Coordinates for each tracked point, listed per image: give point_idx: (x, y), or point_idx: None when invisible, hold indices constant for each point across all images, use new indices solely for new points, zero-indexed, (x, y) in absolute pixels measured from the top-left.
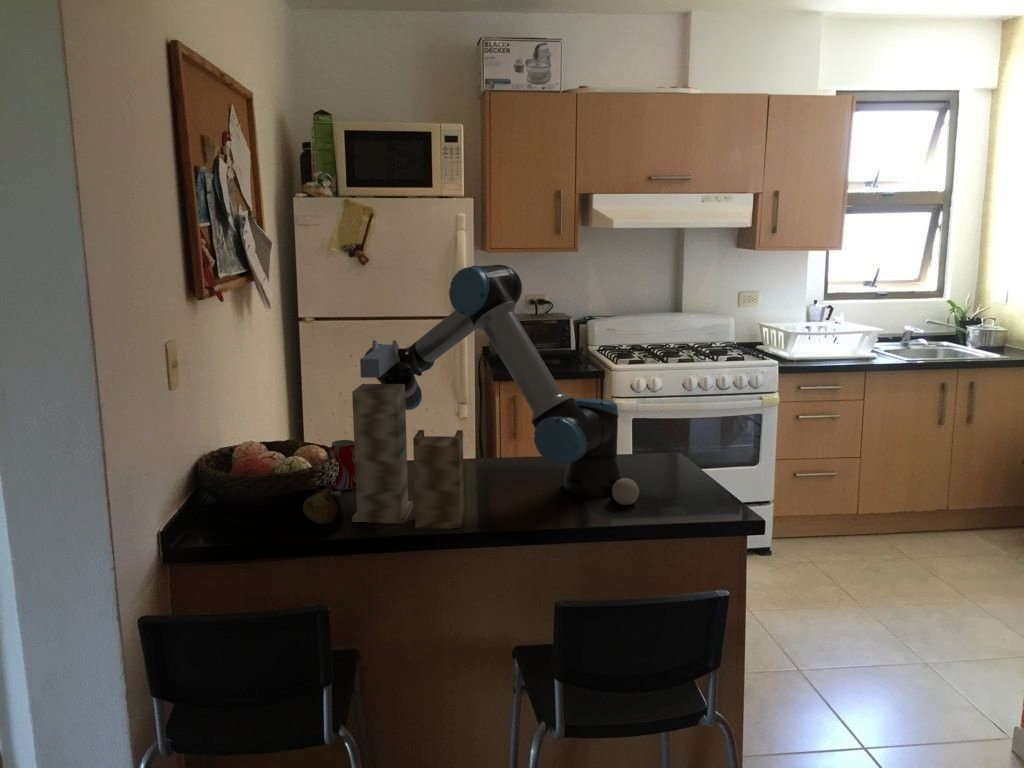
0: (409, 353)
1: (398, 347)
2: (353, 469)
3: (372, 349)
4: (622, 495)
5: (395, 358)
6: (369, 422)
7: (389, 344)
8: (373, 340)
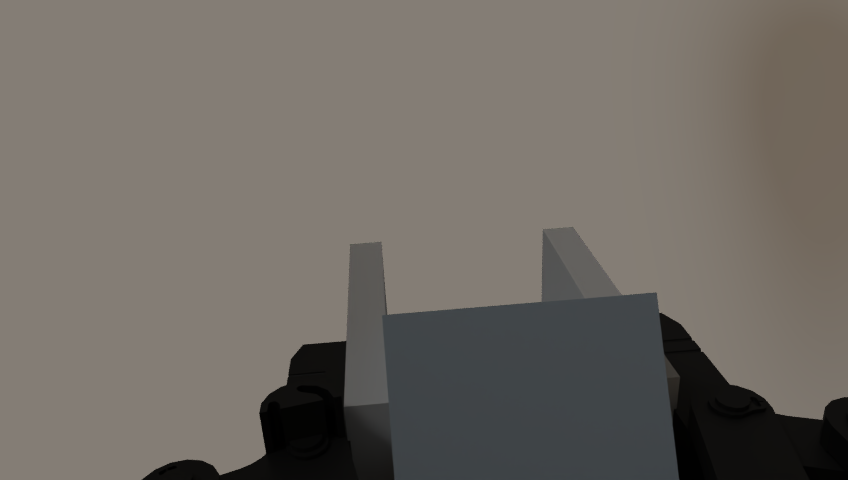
0: (205, 472)
1: (348, 331)
2: None
3: None
4: None
5: None
6: None
7: (528, 303)
8: (566, 228)
